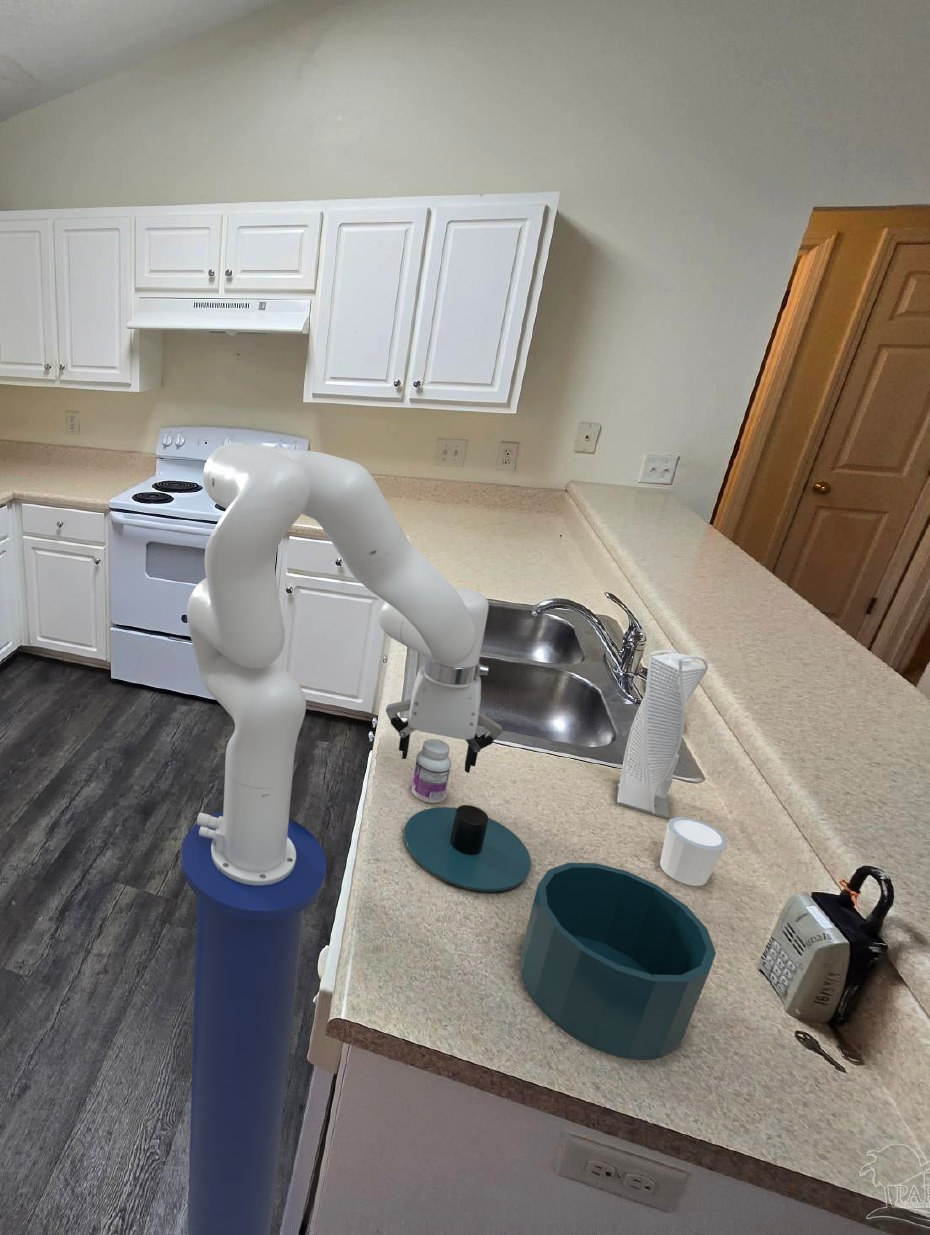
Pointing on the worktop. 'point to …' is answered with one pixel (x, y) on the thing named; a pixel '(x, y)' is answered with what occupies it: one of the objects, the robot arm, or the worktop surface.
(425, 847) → the lid
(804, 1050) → the worktop surface
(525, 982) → the pot
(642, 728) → the skyscraper
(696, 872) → the white cylinder
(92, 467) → the worktop surface
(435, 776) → the pill bottle
